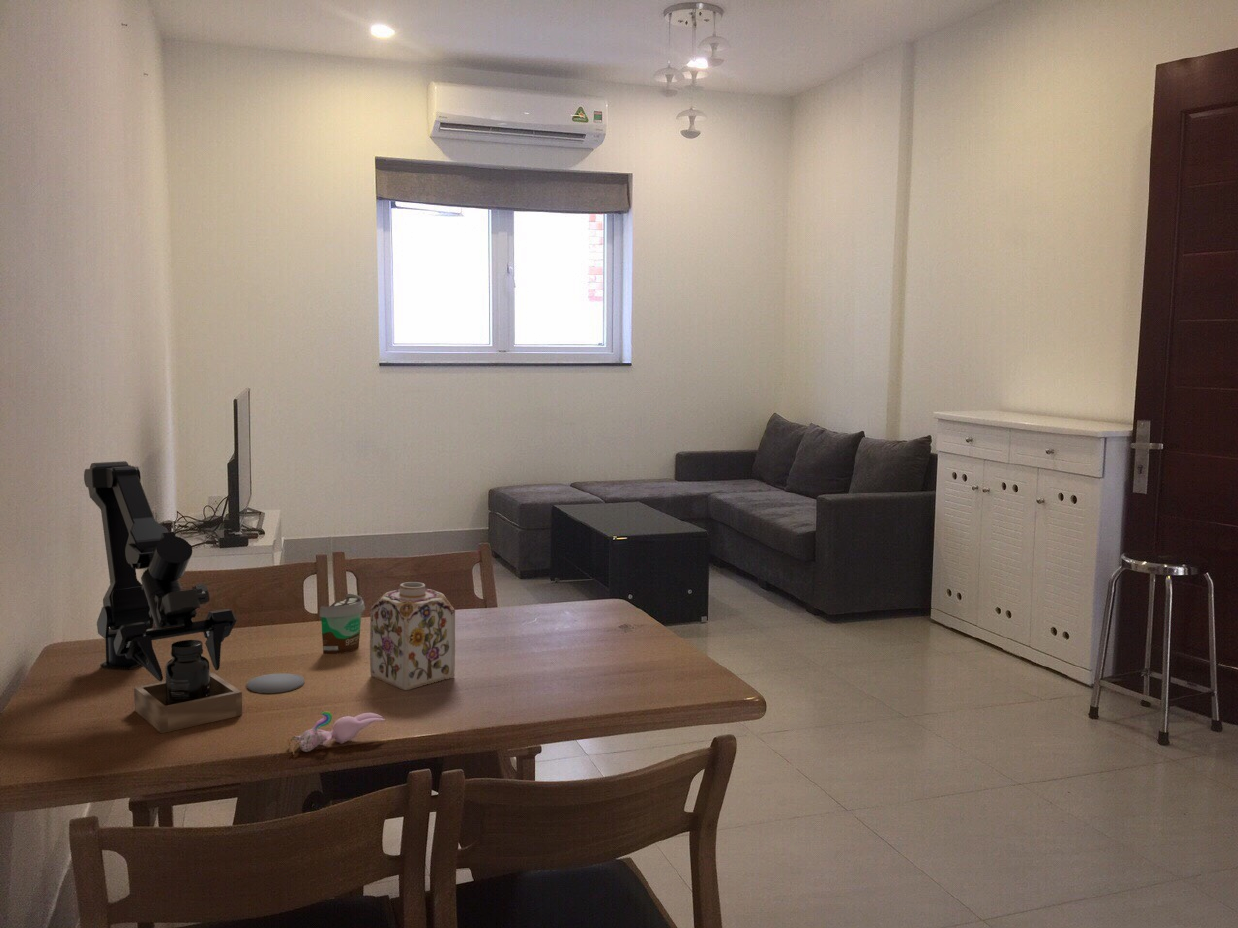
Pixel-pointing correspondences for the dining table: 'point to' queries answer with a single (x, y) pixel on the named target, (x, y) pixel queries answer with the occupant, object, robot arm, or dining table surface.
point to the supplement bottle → (187, 673)
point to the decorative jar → (412, 637)
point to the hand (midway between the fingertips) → (190, 674)
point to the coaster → (275, 683)
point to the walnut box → (187, 705)
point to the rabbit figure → (341, 730)
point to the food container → (342, 625)
